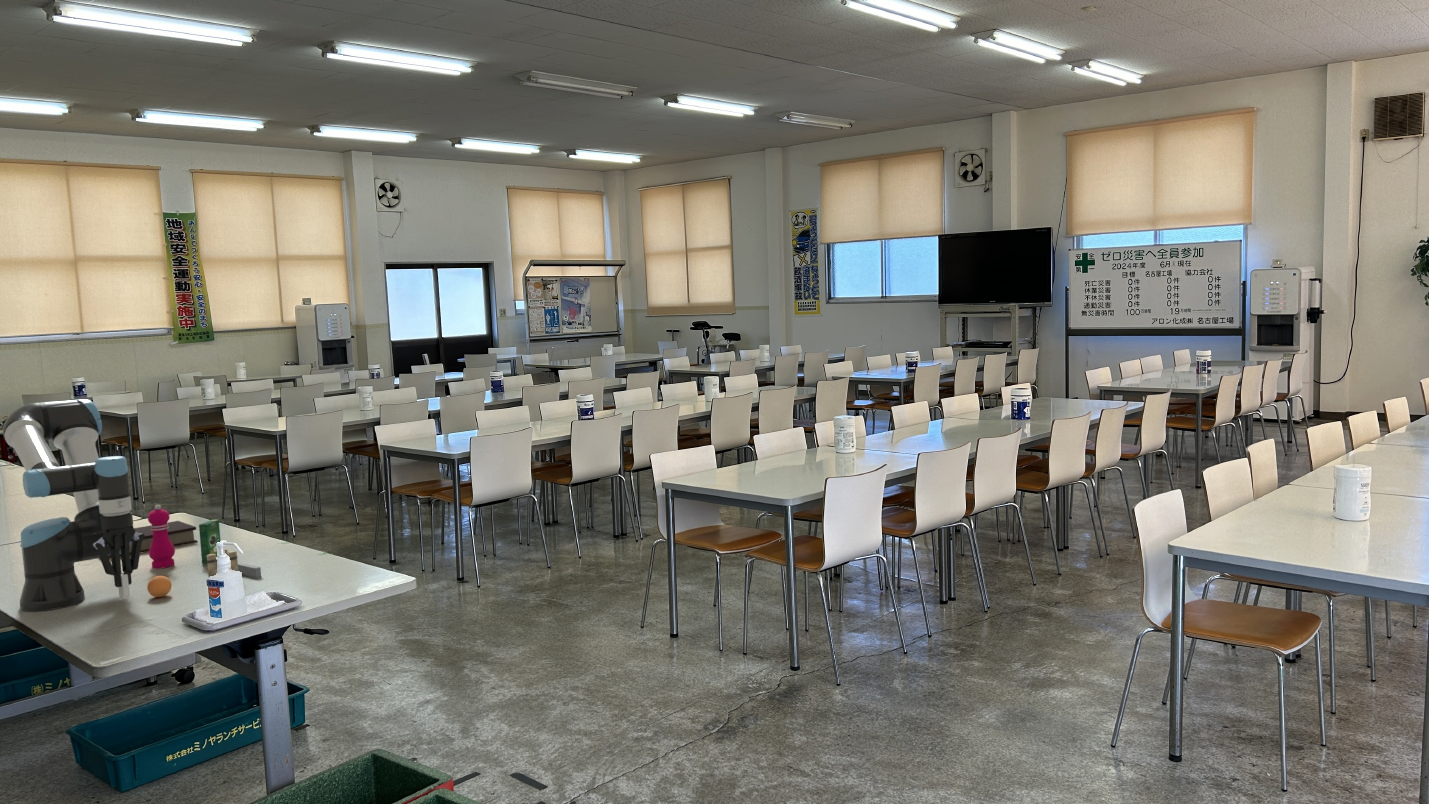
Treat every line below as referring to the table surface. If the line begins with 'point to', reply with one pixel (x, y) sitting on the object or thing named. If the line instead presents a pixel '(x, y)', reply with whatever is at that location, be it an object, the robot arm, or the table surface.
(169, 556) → the pepper mill
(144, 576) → the table surface
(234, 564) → the pin
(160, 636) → the table surface
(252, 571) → the back wall
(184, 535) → the book
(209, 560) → the front pin
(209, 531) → the coffee box
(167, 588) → the ball
